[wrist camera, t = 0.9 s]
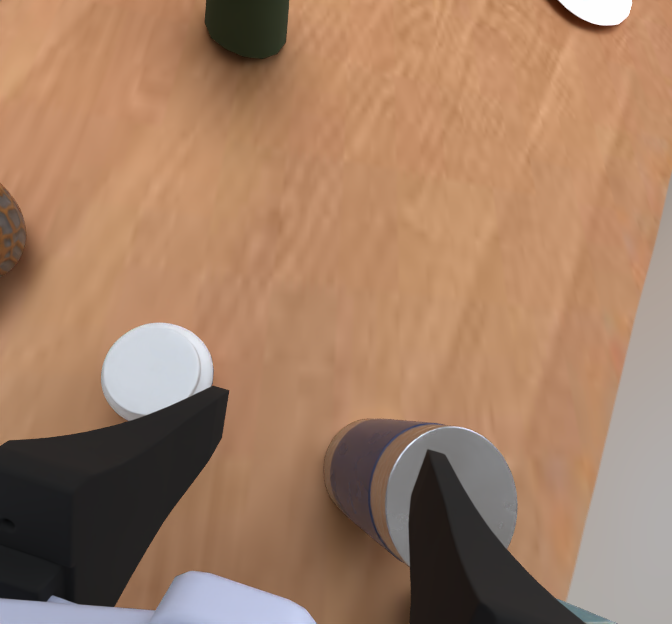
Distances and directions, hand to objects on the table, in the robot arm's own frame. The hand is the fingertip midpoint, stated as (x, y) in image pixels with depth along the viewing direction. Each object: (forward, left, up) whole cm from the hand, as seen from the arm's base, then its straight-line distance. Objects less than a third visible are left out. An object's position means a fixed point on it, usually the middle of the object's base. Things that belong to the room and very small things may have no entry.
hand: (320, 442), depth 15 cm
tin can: (+5, -6, -14) cm, 16 cm away
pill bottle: (-5, +5, -14) cm, 16 cm away
